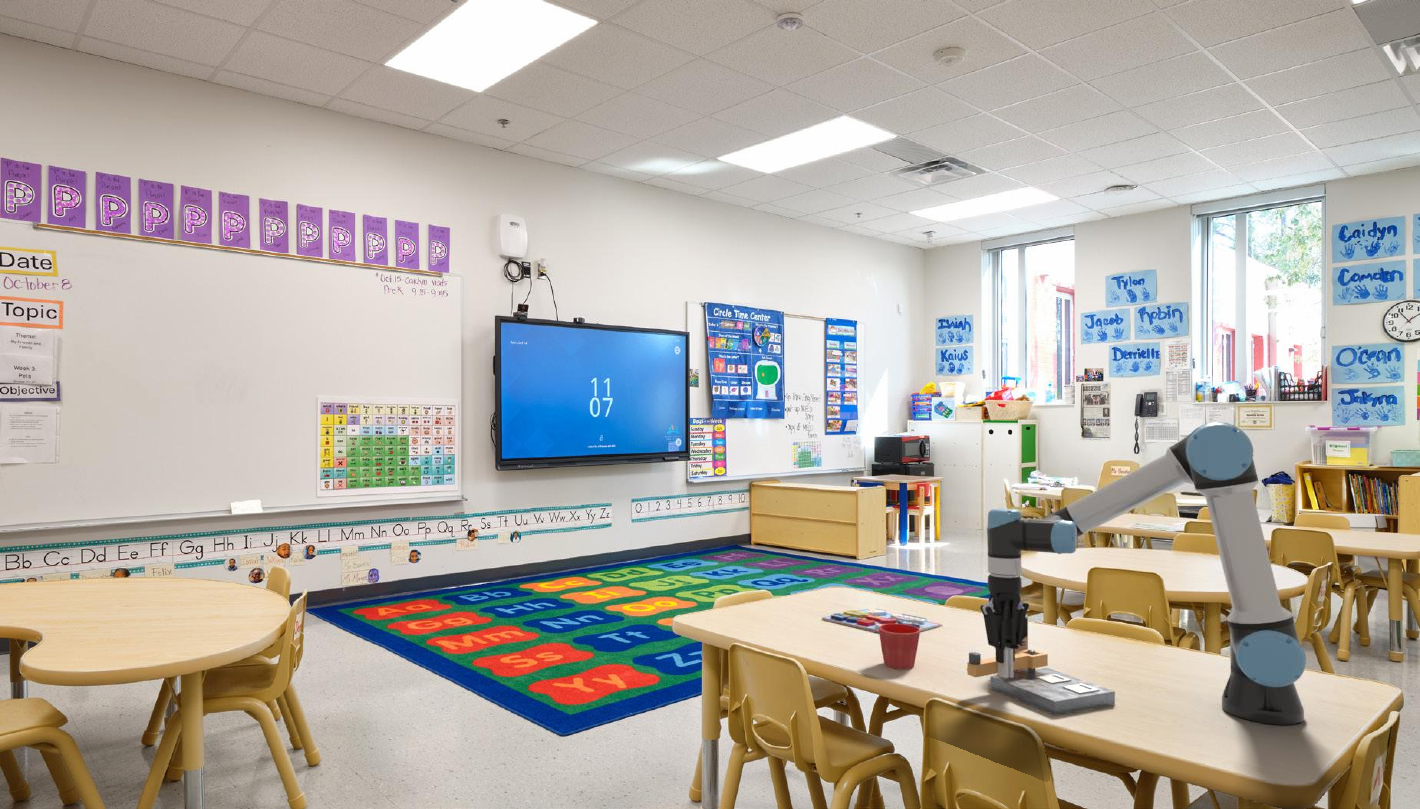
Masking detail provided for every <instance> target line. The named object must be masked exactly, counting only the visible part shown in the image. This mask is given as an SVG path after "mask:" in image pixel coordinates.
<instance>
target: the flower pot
mask: <svg viewBox="0 0 1420 809" xmlns="http://www.w3.org/2000/svg"><path fill="white" fill-rule="evenodd" d="M878 634H879V641H880V647H881V653H882V659H883V663H884V666H886V667H888V668H891V669H892V668H893V669H897V670H907V669H908V670H909V669H911V668H913V667H915V663H916V657H917V652H918V646H919V641H920V640H919V639H920V634H921V632H920V629H919V628H917V627H915V626H912V625H906V624H884V625H881V626H879V633H878Z"/></svg>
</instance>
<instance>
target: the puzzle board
mask: <svg viewBox="0 0 1420 809" xmlns="http://www.w3.org/2000/svg"><path fill="white" fill-rule="evenodd" d="M821 619H822V621H825V622H829V623H832V624H833V623H834V624H837V625H841V626H846V627H849V628H850V627H851V628H854V629H859V630H864V631H867V632H871V633H874V634H875V633H877V634H879V626H881V625H884V624H906V625H912V626H915V627H917V628H919V629H920V633H924V632H927V631H930V630H934V629H937V628H941V627H940V626H942V627H943V623H938V622H933V621H927V620H928V619H927V618H925V617H920V616H917V615H916V616H915V615H911V614H905V613H900V614H895V613H893V614H891V613H888V612H887V610H884V609H879V608H870V609H868V608H865V609H860V610H854V609H853V610H852V609H850V610H845V611H843V613H839V612H835V613H832V614H830V615H829V616H824V617H821Z"/></svg>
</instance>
